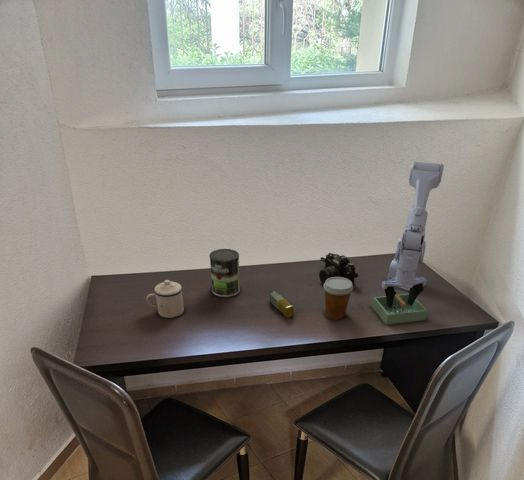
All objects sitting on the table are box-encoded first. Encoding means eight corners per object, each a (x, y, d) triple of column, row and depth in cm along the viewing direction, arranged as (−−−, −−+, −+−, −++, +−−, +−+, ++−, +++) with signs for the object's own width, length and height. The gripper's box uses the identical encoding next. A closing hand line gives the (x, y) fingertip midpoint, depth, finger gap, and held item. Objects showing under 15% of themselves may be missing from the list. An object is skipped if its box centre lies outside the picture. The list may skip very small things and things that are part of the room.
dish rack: (390, 319, 152) (393, 306, 149) (382, 308, 158) (384, 295, 155) (414, 316, 153) (417, 303, 150) (405, 306, 159) (407, 293, 156)
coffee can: (232, 299, 164) (231, 262, 155) (207, 294, 167) (204, 257, 158) (244, 286, 171) (243, 251, 163) (219, 281, 174) (217, 246, 166)
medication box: (270, 302, 162) (268, 293, 159) (276, 300, 163) (275, 290, 160) (287, 318, 153) (286, 308, 151) (294, 315, 154) (293, 305, 151)
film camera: (305, 280, 175) (307, 256, 169) (324, 269, 183) (326, 245, 177) (345, 295, 166) (348, 270, 160) (363, 283, 174) (366, 258, 168)
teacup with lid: (184, 303, 161) (180, 273, 154) (184, 317, 154) (181, 286, 147) (149, 306, 159) (144, 276, 153) (148, 320, 152) (142, 289, 145)
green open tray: (385, 325, 150) (387, 315, 148) (371, 307, 159) (373, 297, 157) (425, 321, 152) (427, 310, 150) (408, 303, 162) (411, 293, 159)
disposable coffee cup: (331, 325, 150) (334, 292, 143) (315, 311, 157) (318, 280, 150) (355, 318, 154) (359, 285, 147) (338, 305, 160) (342, 273, 153)
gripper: (391, 275, 141) (384, 313, 149) (434, 271, 144) (425, 309, 152) (381, 265, 147) (375, 302, 155) (423, 262, 149) (415, 298, 157)
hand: (399, 305), depth 154 cm, fingers open, 7 cm apart
